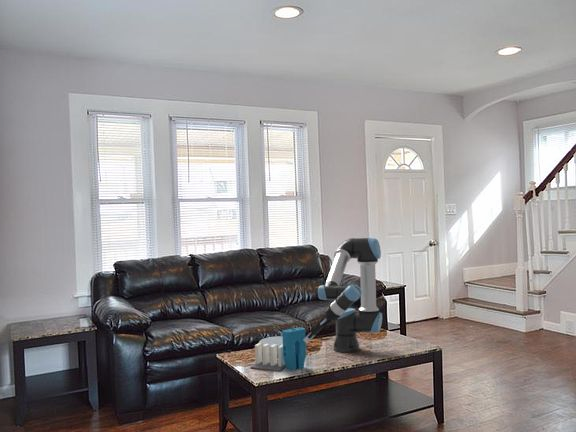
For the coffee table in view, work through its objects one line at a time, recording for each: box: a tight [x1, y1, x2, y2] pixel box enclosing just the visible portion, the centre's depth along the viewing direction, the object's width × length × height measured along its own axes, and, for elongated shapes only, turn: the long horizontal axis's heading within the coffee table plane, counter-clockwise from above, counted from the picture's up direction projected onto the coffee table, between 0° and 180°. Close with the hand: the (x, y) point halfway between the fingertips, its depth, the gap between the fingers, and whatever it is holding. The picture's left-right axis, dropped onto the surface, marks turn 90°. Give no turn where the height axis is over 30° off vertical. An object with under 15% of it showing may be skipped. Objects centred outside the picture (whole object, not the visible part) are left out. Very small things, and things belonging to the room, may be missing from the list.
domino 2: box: [262, 344, 270, 365], centre depth 273 cm, size 2×5×10 cm, turn 156°
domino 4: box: [277, 345, 285, 367], centre depth 270 cm, size 2×5×10 cm, turn 156°
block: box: [281, 327, 307, 372], centre depth 267 cm, size 12×5×20 cm, turn 124°
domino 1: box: [254, 342, 263, 364], centre depth 275 cm, size 2×5×10 cm, turn 157°
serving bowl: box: [258, 335, 283, 356], centre depth 297 cm, size 21×21×7 cm
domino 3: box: [270, 344, 278, 366], centre depth 271 cm, size 2×5×10 cm, turn 156°
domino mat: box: [249, 358, 286, 372], centre depth 272 cm, size 17×16×1 cm
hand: (305, 341), depth 264 cm, fingers closed
